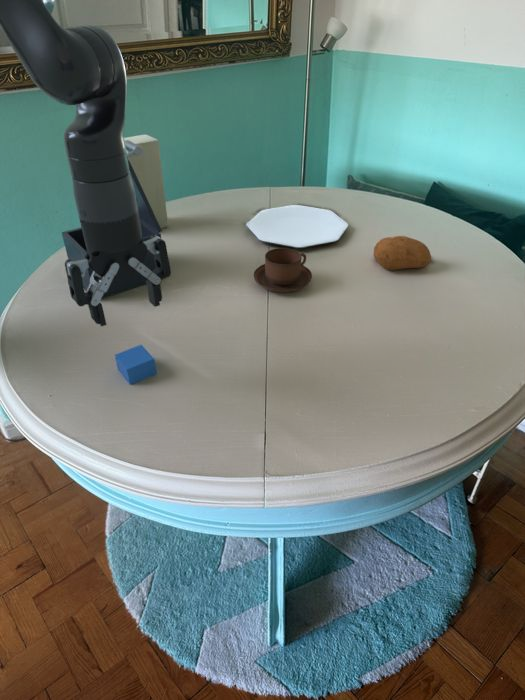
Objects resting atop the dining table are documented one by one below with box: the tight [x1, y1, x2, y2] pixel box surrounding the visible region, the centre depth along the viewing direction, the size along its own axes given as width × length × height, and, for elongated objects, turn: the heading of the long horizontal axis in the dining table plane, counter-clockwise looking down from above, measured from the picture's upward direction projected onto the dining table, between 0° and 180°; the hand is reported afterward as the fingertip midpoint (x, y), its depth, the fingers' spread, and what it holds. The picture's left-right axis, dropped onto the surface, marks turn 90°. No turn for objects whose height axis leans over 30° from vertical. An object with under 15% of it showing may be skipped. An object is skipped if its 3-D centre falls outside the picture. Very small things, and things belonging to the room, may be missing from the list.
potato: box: [373, 235, 432, 271], centre depth 111 cm, size 7×13×7 cm, turn 96°
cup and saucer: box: [253, 247, 313, 293], centre depth 106 cm, size 12×12×6 cm
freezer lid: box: [125, 140, 163, 233], centre depth 102 cm, size 17×13×5 cm
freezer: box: [61, 218, 167, 300], centre depth 107 cm, size 16×13×10 cm
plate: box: [246, 204, 349, 249], centre depth 128 cm, size 24×24×2 cm
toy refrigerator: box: [124, 134, 169, 229], centre depth 125 cm, size 8×7×21 cm
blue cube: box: [114, 344, 158, 386], centre depth 82 cm, size 5×5×5 cm
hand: (128, 313), depth 77 cm, fingers open, 8 cm apart
